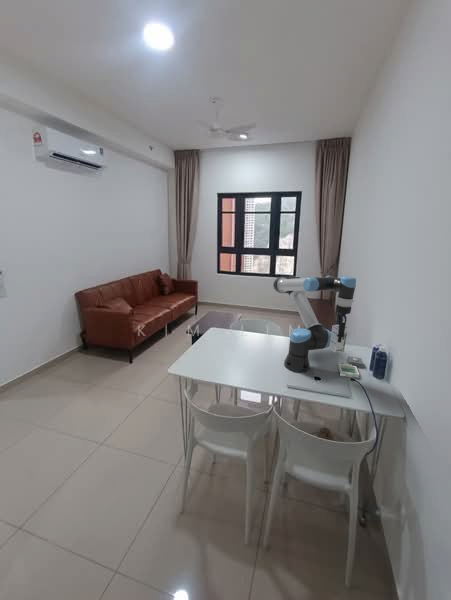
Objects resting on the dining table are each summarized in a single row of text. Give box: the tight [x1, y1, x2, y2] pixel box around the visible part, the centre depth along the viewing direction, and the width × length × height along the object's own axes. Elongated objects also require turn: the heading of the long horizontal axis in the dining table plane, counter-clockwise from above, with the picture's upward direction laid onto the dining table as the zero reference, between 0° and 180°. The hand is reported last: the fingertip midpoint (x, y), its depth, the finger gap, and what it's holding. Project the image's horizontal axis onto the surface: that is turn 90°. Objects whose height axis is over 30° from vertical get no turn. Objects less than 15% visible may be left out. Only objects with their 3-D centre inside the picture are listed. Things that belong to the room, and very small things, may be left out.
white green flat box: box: [336, 362, 360, 380], centre depth 162 cm, size 10×13×3 cm
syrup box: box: [328, 324, 348, 353], centre depth 150 cm, size 6×6×14 cm
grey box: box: [346, 355, 364, 371], centre depth 170 cm, size 8×13×4 cm, turn 165°
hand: (337, 344), depth 151 cm, fingers closed on syrup box, 7 cm apart
